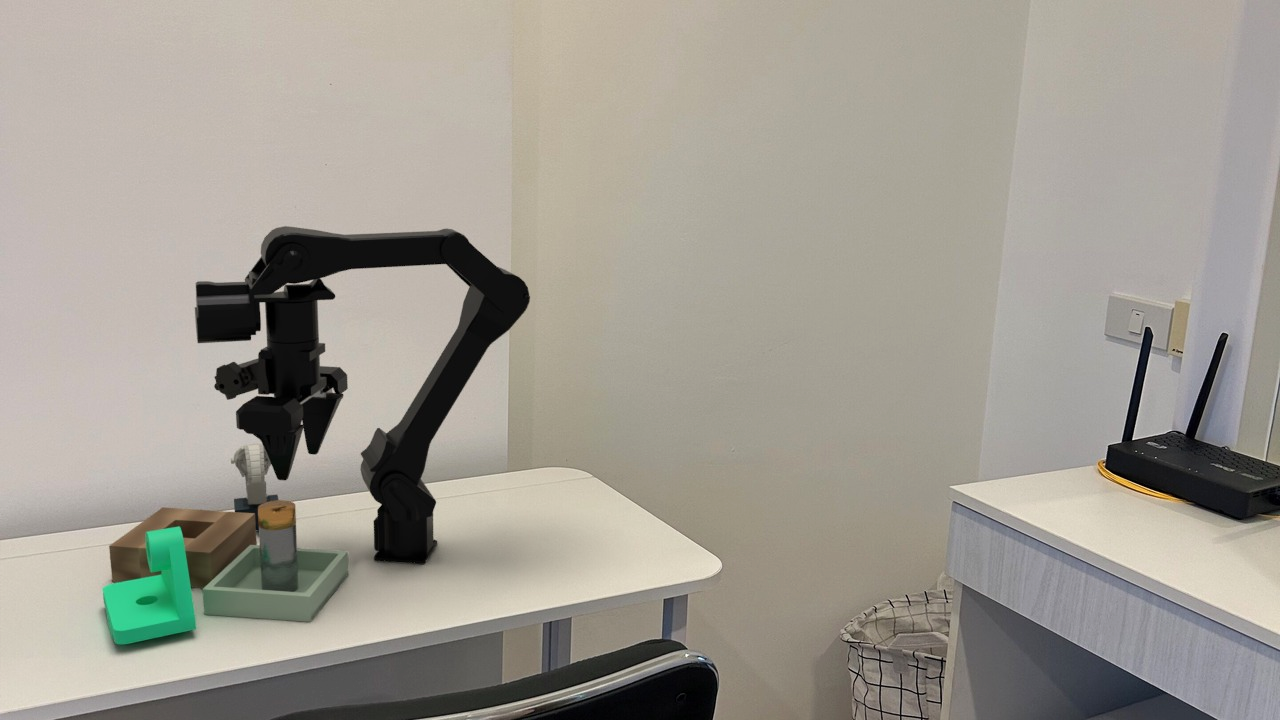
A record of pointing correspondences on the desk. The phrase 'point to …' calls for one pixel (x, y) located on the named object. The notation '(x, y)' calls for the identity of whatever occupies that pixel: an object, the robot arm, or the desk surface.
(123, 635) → the camera mount
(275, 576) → the steel pin
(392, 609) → the desk surface
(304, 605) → the tray
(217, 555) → the hole block
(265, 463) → the watch
